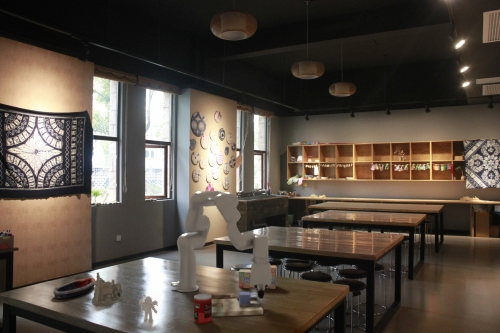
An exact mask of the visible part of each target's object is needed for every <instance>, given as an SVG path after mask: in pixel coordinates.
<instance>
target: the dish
mask: <svg viewBox="0 0 500 333" xmlns="http://www.w3.org/2000/svg"><path fill="white" fill-rule="evenodd" d="M95 281H96V279H95V278H94V277H87V278H82V279H77V280H73V281H70V282H67V283H64V284H62V285H60V286H58V287H55V288H54V289H53V292H52V293H53V294H54V297H55V298H57V299H69V298H73V297H74V298H75V297H76V296H80V295H83V294H86V293H88V292H89V291H91V290H92V289H95V284H94V282H95Z"/></svg>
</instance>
